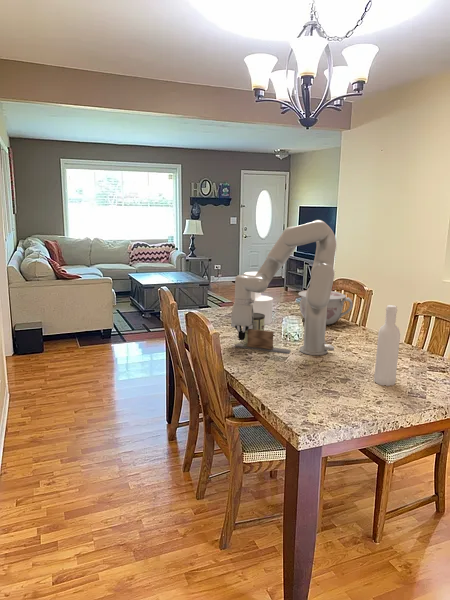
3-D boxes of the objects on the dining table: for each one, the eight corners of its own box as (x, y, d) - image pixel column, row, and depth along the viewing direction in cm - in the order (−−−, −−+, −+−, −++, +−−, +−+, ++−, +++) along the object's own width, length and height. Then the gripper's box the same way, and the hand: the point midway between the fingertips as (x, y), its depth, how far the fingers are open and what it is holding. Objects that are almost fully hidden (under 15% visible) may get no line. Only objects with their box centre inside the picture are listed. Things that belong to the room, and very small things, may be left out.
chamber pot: (287, 319, 269) (289, 284, 265) (324, 315, 280) (326, 282, 276) (315, 330, 244) (317, 293, 240) (355, 326, 255) (357, 290, 251)
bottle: (378, 376, 178) (385, 302, 172) (398, 381, 173) (406, 305, 167) (370, 382, 172) (377, 306, 166) (391, 387, 167) (399, 309, 161)
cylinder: (239, 323, 256) (240, 274, 251) (246, 316, 272) (247, 270, 267) (268, 326, 251) (270, 276, 246) (274, 319, 268) (276, 272, 262)
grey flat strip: (290, 351, 207) (290, 349, 207) (288, 353, 204) (289, 352, 204) (237, 345, 215) (237, 343, 215) (235, 347, 212) (235, 345, 212)
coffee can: (243, 339, 224) (244, 312, 222) (264, 340, 224) (265, 313, 221) (242, 345, 214) (242, 317, 212) (263, 346, 213) (264, 317, 211)
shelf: (273, 347, 209) (274, 331, 207) (271, 349, 206) (272, 332, 205) (248, 344, 213) (249, 328, 211) (246, 346, 210) (247, 329, 209)
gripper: (260, 301, 209) (259, 339, 213) (230, 298, 214) (229, 335, 218) (256, 304, 202) (254, 343, 206) (224, 301, 207) (224, 339, 211)
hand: (241, 339), depth 212 cm, fingers closed
